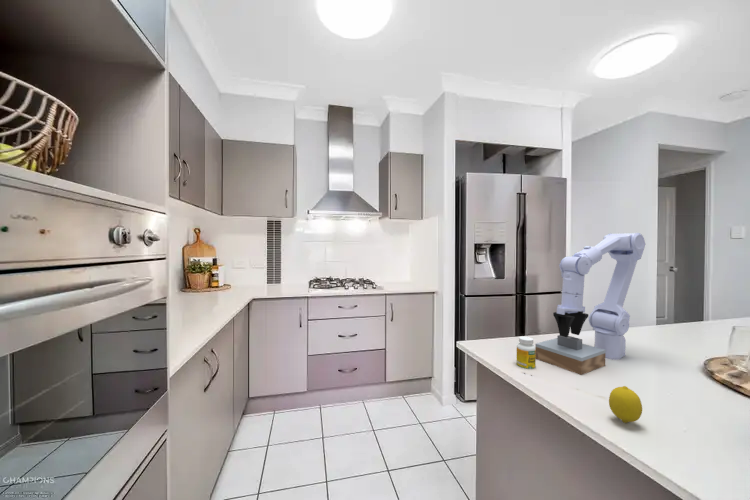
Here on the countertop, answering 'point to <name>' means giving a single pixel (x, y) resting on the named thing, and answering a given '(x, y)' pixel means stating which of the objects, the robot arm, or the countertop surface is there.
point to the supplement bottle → (526, 353)
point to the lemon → (625, 404)
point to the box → (570, 361)
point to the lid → (570, 348)
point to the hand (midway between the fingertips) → (569, 335)
